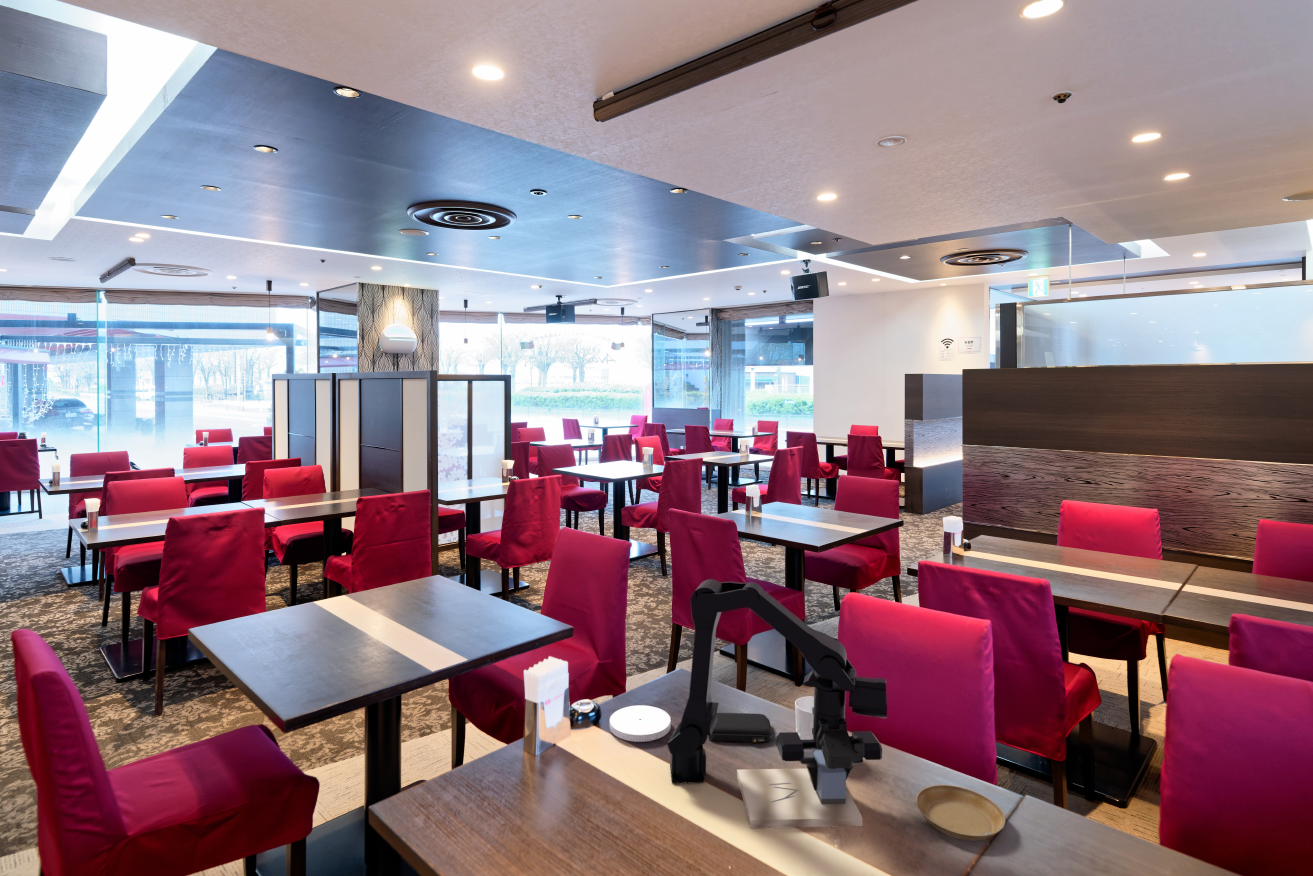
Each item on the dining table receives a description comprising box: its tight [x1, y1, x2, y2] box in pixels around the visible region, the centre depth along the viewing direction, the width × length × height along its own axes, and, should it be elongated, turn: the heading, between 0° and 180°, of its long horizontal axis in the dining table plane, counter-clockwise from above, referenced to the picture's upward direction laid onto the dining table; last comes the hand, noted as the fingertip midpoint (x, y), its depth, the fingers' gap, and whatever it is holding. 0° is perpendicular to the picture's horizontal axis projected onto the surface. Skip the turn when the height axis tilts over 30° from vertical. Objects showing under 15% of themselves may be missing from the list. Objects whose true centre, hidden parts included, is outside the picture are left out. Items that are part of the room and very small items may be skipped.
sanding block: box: [810, 751, 847, 804], centre depth 129 cm, size 4×8×6 cm, turn 2°
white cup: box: [794, 695, 814, 740], centre depth 146 cm, size 8×8×10 cm
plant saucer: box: [915, 784, 1006, 842], centre depth 122 cm, size 15×15×3 cm
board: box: [736, 767, 863, 829], centre depth 129 cm, size 20×16×2 cm
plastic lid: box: [609, 704, 672, 743], centre depth 155 cm, size 14×14×2 cm
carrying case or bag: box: [708, 712, 773, 743], centre depth 153 cm, size 11×3×15 cm
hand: (827, 788), depth 129 cm, fingers closed on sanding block, 4 cm apart
